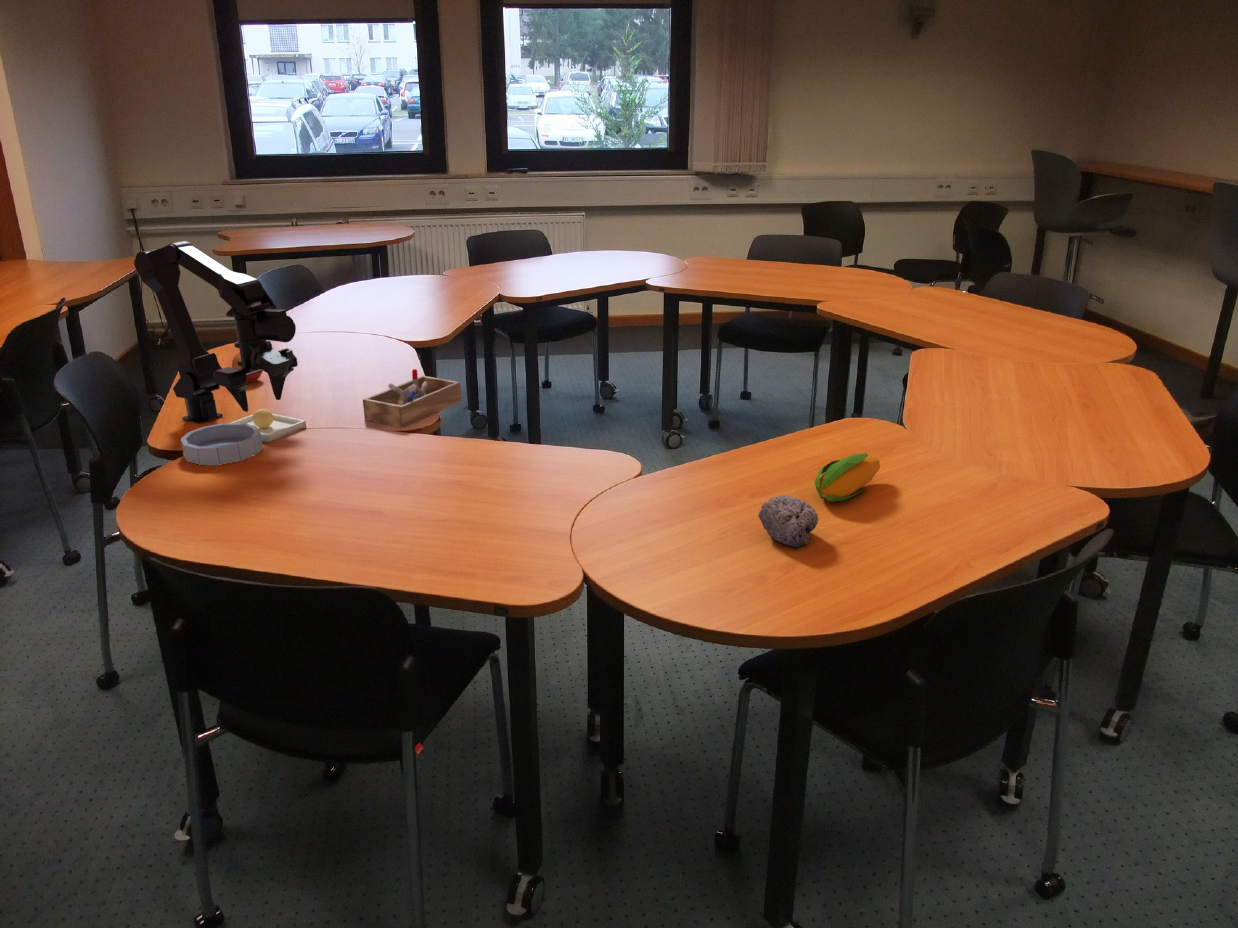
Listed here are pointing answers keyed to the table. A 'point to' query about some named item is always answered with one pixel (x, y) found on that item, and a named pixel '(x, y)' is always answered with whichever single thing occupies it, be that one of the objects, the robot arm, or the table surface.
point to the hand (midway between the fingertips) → (262, 405)
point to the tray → (276, 426)
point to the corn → (846, 477)
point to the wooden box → (412, 402)
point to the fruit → (235, 365)
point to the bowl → (221, 443)
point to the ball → (262, 418)
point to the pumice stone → (788, 520)
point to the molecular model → (410, 390)
